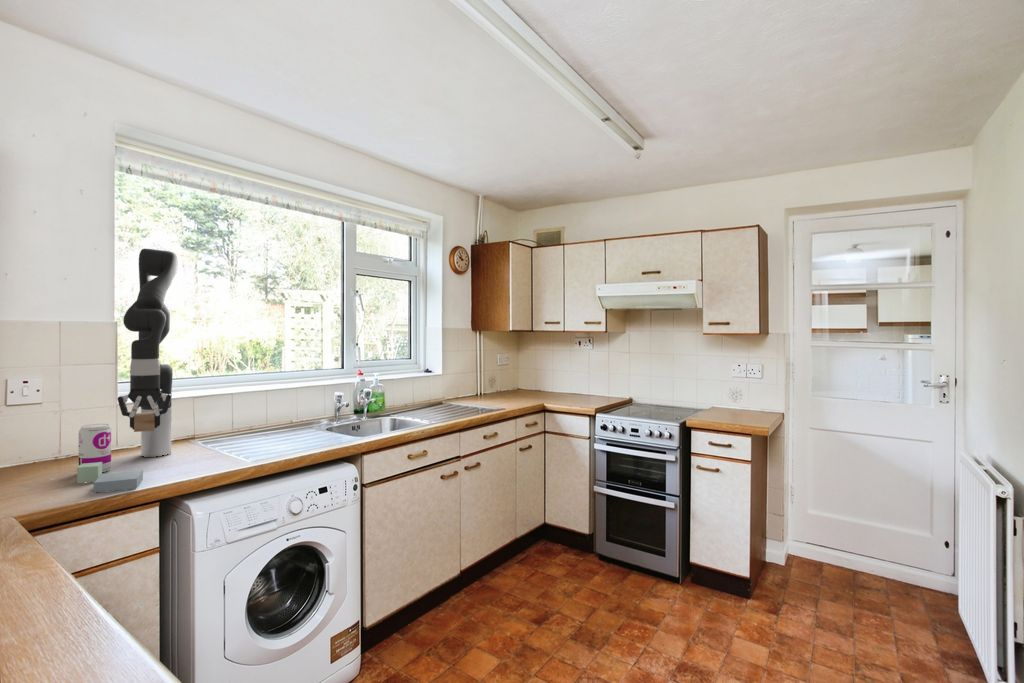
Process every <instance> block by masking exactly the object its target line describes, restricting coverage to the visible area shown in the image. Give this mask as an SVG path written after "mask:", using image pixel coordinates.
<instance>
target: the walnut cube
mask: <svg viewBox="0 0 1024 683" xmlns="http://www.w3.org/2000/svg"><path fill="white" fill-rule="evenodd" d="M155 429H156V428H155V413H154V412H150V413H141V412H136V414H135V415H134V430H133V432H134V433H137V432H138V433H139V432H140V433H141V431H154V430H155Z"/></svg>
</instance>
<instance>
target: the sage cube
mask: <svg viewBox="0 0 1024 683" xmlns="http://www.w3.org/2000/svg"><path fill="white" fill-rule="evenodd" d="M102 474H103V473H102V462H96V463H84V464H81V465H80V466H79V465H78V466H77V467H76V484H77V483H83V484H86V483H85V482H95V481H96V480H97V479H98V478H99V477H100V476H101V475H102Z"/></svg>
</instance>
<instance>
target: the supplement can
mask: <svg viewBox="0 0 1024 683" xmlns="http://www.w3.org/2000/svg"><path fill="white" fill-rule="evenodd" d="M96 462H102V472H104V473H107V472H109V471H110V470H111V469H112V428H111V426H110V425H109V424H108V423H93V424H92V423H91V424H86V425H82V426H80V428H79V430H78V467H79V466H80V465H81V464H84V463H96ZM108 470H109V471H108ZM106 471H107V472H106Z"/></svg>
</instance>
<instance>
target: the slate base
mask: <svg viewBox="0 0 1024 683" xmlns="http://www.w3.org/2000/svg"><path fill="white" fill-rule="evenodd" d="M143 480H144V470H142V469H141V470H140V469H139V470H128V471H118V472H117V471H115V472H104V473H102V475H101V476H100V477H99V478H98V479H97V480H96V481H95V482H94V483H93V494H97V493H96V492H101V493H106V492H105V491H111V492H116V491H115V490H121V491H126V490H125V489H130V490H137V489H138V488H139V486H140V485H141V483H142V481H143ZM137 487H138V488H137ZM136 488H137V489H136Z"/></svg>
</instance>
